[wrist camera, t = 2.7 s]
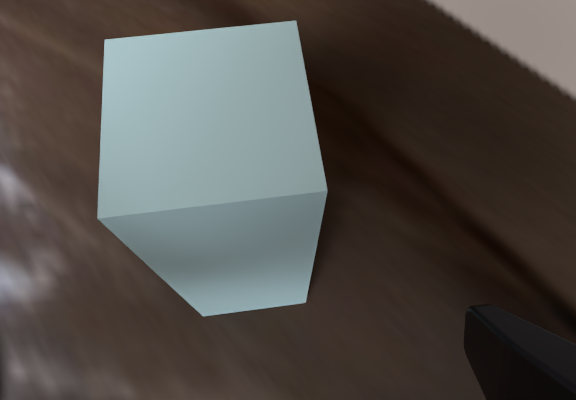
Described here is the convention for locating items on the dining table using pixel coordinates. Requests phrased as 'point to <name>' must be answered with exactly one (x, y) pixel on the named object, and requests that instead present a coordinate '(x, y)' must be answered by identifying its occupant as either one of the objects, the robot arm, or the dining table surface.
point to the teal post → (214, 163)
